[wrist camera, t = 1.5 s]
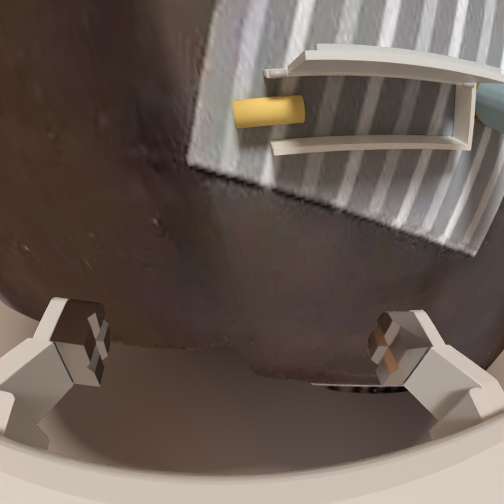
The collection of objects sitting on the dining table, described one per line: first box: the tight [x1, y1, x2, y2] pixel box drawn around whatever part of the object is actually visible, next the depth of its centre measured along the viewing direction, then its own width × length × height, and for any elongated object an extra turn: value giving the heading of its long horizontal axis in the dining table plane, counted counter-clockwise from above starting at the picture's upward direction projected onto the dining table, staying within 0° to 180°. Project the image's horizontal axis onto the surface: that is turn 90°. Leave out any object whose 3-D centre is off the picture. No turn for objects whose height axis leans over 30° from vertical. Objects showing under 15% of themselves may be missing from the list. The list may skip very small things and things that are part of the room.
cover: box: [288, 44, 504, 84], centre depth 22 cm, size 20×8×1 cm
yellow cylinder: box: [233, 95, 305, 129], centre depth 31 cm, size 7×3×3 cm, turn 96°
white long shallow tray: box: [263, 68, 476, 156], centre depth 30 cm, size 25×9×4 cm, turn 96°
